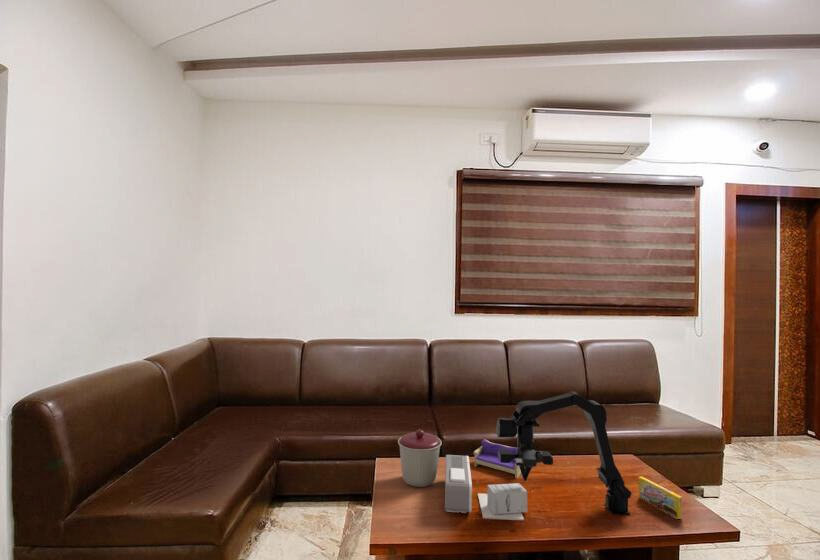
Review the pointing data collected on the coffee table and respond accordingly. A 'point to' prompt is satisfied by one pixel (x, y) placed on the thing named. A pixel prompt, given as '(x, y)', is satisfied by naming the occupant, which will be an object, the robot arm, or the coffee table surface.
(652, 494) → the candy box
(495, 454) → the toy sofa
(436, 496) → the coffee table surface
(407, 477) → the canister
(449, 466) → the grey boxy piece
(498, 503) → the supplement box
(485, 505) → the white flat panel
